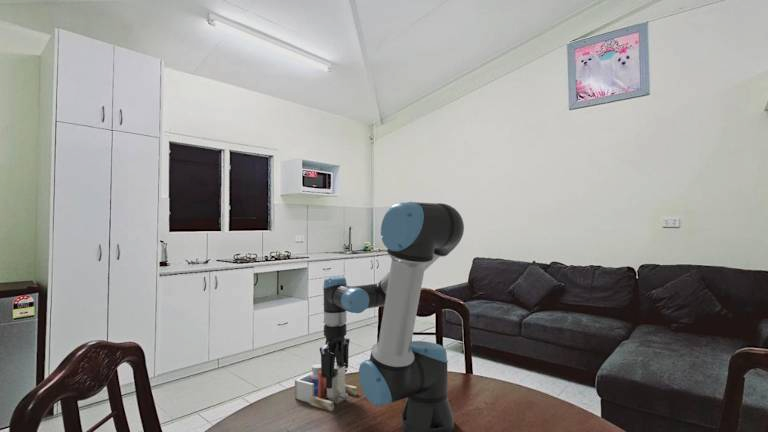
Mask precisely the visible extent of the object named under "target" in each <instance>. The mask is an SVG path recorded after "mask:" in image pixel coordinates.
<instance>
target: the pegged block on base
mask: <svg viewBox="0 0 768 432" xmlns="http://www.w3.org/2000/svg"><path fill="white" fill-rule="evenodd" d="M333 377H335V398H334V399H333V398H329V397H327V387H326V378H324V377H322V376H321V371H320V372H318V398H322V399H326V398H328V399H327V400H329V401H332V402H334V404H337V405H339V404H340V403H342V402H343V401H345V400H348V399H349V394H348V393H345V384H346V372H345V366H344V365H340V364H337V363H335V365H334V373H333Z"/></svg>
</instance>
